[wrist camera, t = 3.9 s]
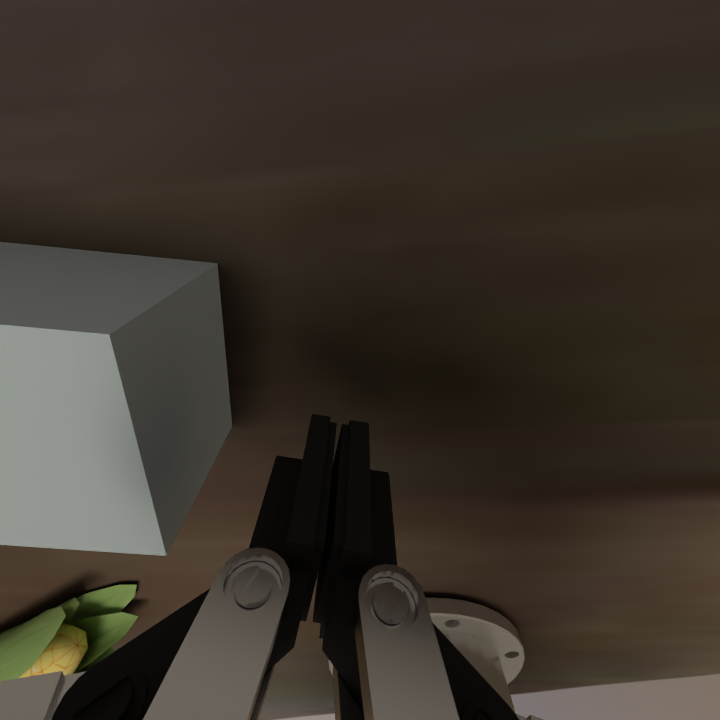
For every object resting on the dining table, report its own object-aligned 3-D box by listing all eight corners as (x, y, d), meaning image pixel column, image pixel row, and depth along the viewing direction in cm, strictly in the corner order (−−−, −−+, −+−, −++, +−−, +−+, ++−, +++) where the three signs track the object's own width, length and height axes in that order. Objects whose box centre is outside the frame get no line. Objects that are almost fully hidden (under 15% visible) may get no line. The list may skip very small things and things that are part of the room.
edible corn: (-65, 655, 26) (-144, 744, 22) (102, 554, 20) (37, 650, 16) (4, 681, 28) (-56, 768, 24) (174, 596, 22) (133, 691, 18)
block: (233, 423, 16) (166, 555, 10) (19, 406, 15) (-163, 533, 10) (219, 262, 12) (108, 334, 7) (-55, 235, 12) (-389, 289, 7)
